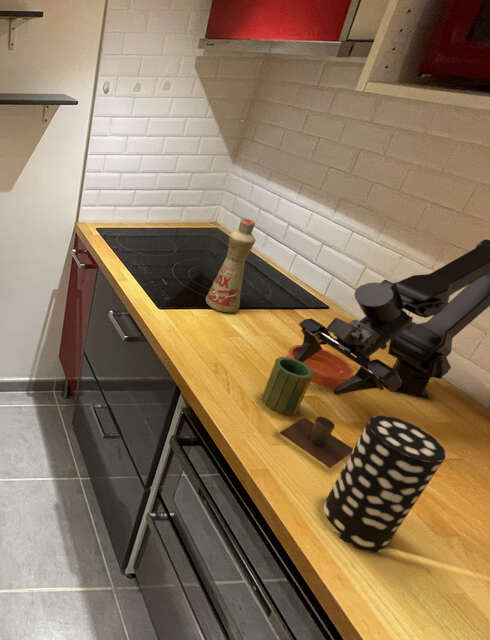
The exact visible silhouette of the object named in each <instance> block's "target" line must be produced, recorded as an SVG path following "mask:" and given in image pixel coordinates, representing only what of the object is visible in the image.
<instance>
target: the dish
mask: <svg viewBox="0 0 490 640" xmlns="http://www.w3.org/2000/svg"><path fill="white" fill-rule="evenodd" d="M301 347H302V344H296V345H293V346H292V347H290V348H289V351H288V353H287V356H286V357H289V358H293V359H295V358H296V356H297V354H298V352H299V350H300V349H301ZM302 363H304V364H306V365H307V366H308V367H309V368H310V369H311V370H312V371H313V377H312V380H311V382H310V383H313V384H316V385H318V386H322V387H326V388H330V389H331V388H332V389H336V388H337V387H339V386H340V385H341V384H343V383H344V382H346V381H347V380H349V379H350V378H351V377H353V376H354V375H355V374H354V373H355V370H354V369H353V367H352V366H351V364H350V363H349V362H348V361H347V360H345V359H344V358H342V357H341V356H339V355H338V354H336V353H334V352H331V351H330V350H327V349H325V348H322V349H321V350H320V351H318V352H317V353H315V354H314V355H312V356H311V357H310V358H308V359H307V360H305V361H304V362H302Z"/></svg>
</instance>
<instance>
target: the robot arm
mask: <svg viewBox="0 0 490 640" xmlns="http://www.w3.org/2000/svg"><path fill="white" fill-rule="evenodd" d="M460 290H461V291H460ZM458 291H460V292H459V293H458V294H456V292H458ZM454 294H456V296H454V297H453V298H452V299H451V300H450V296H452V295H454ZM354 299H355V301H356V302H357V304H358V306H359V308H360V309H361V311H362V313H363V314H364V316H363V318H361V319H360V320H358V319H353V320H352V321H351V322H347V321H345V320H342V319H341V318H338V317H334V318H333V319H332V321H331V322H330V323H329V325H328V326H327V327H326V326H325V325H323V324H321V323H319V322H318V321H316V320H315V319H314V318H312V317H311V318H305V319H303V320H302V321H301V322H299V323H298V326H299V327H300V328H301V333H302V334H303V342H302V344H301V345H302V347H301V349H300V350H299V352H298V354H297V356H296V358H295V359H296V360H298V361H301V362H304V361H305V360H307V359H308V358H310V357H311V356H312V355H314V354H315V353H317V352H318V351H320V350H321V349H323V347H322V345H328V346H329V347H331V348H333V349H334V350H335V351H337V352H338V353H340V354H342V355H344V356H345V357H347V358H348V359H350V360H351V361H353V362H355V363H356V364H357V365H359V366H360V367H359V369H358V371H356V373H355V374H353V377H351V378H350V379H349V380H347V381H346V382H344V383H343V384H341V385H340V386H339V387H337V388H334V390H333V391H332V393H333V395H334V396H340V395H344V394H348V393H352V392H357V391H358V392H359V391H363V390H372V389H373V390H374V389H379V391H384V390H385V389H386V390H387V391H389V392H390V393H395V392H397V393H398V392H399V393H403V394H409V395H412V396H413V395H414V396H417V397H418V396H419V397H423V398H430V397H431V396H430V394H429V393H428V392H427V391H426V387H427V386H428V385H429V382H430V379H431V378H434V379H438V380H441V379H443V377H444V376H446V374H448V373H449V371H450V370H451V369H452V366H451V364H450V362H449V360H448V358H447V357H448V356H449V355H451V353H452V348H453V339H454V337H456V336H457V335H458V334H459V333H460V332H461V331H463V330H464V329H465V328H466V327H467V326H468V325H470V324H471V323H472V322H473V321H474V320H475V319H477V318H478V317H479V316H480V315H481V314H482V313H483V312H484V311H486V310H487V309H488V308H489V307H490V239H486V238H485V239H483V240H481V241H480V242H479V243H478V244H476V246H475V248H473V249H471V250H469V251H468V252H466V253H463V255H461V256H459V257H457V258H455V259H454V260H451V261H450V262H448V263H446V264H445V265H443V266H441V267H439V268H438V269H436V270H434V271H432V272H430V273H427V274H414V275H411V276H409V277H406V278H404V279H401V280H399V281H397V282H393V281H390V280H387V279H384V280H382V281H381V282H368V283H364V284H361V285H359V286H358V287H357V288H356V289H355V290H354ZM406 311H408V312H410V313H412V314H414V315H415V316H417V317H420V318H424V319H427V318H430V319H428V320H427V321H426V322H420V323H416V322H414V321H413V320H414V319H413V316H410V315H409V314H408V313H407V312H406ZM330 333H332V334H333V336H332V334H330ZM335 337H336V338H335ZM387 343H389V345H387ZM387 347H388V350H387V351H388V352H387V354H388V355H390V356H392V357H394V358H395V359H396V360H395V362H394V364H393V366H392V367H391V366H389V365H388V364H387V363H385V362H383V361H381V360H380V359H378V358H375V359H371V358H370V357H371V356H372V355H373V354H374V353H376V352H377V351H378V350H379V349H381V350H385V349H386V348H387Z"/></svg>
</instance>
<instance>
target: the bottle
mask: <svg viewBox="0 0 490 640" xmlns="http://www.w3.org/2000/svg"><path fill="white" fill-rule="evenodd" d="M255 226H256V222H255V221H254V220H252V219H250V218H242V219H241V220H240V223H239V226H238V229H237V230H236V231H233V232H232V233H230V234H229V239H228V246H227V253H226V257H225V259H224V261H223V263H222V265H221V266H220V269H219V271H218V273H217V275H216V277H215V279H214V281H213V282H212V284H211V287H210V288H209V290H208V293H207V294H206V297H205V302H206V304H207V305H208V306H209V307H210V308H212V309H213V310H216V311H217V312H221V313H222V312H223V313H226V314H228V313H229V314H230V313H233V314H234V313H235V312H237V311H238V310H239V308H240V304H241V293H242V286H243V278H244V272H245V265H246V264H245V263H246V261H247V258H248V256H249V255H250V252H251V250H252V248H253V246H254V245H255V244H256V241H257V240H256V238H255V236H254V235H253V233H252V232H253V231H254V228H255Z"/></svg>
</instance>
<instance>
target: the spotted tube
mask: <svg viewBox="0 0 490 640" xmlns="http://www.w3.org/2000/svg"><path fill="white" fill-rule="evenodd" d="M446 457H447V453H446V450H445V448H444V447H443V445H442V444H441V443H440V442H439V441H438V440H437V439H436V438H435V437H434V436H432V435H431V434H430V433H428V432H427V431H425V430H424V429H422V428H420V427H419V426H417V425H415V424H413V423H411V422H409V421H406V420H404V419H401V418H397V417H394V416H389V415H374V416H372V417H370V418H369V420H368V422H367V423H366V424H365V427H363V430H362V432H361V434H360V436H359V438H358V439H357V441H356V443H355V445H354V447H353V451H352V453H350V454H349V455H348V458H347V460H346V462H345V463H344V466H343V468H342V469H341V471H340V473H339V475H338V477H337V479H336V480H335V482H334V484H333V486H332V488H331V490H330V492H329V494H328V495H327V497H326V499H325V501H324V503H323V513H324V515H325V517H326V519H327V520H328V521H329V523H330V525H331V526H333V528H334V529H335V530H336V531H333V533H334V534H335V535H336V536H337V537H339V538H340V540H342V541H344V542H345V543H346V544H348V545H350V546H352V547H354V548H356V549H358V550H361V551H364V552H369V553H382V552H383V551H385V549H386V548H387V546H388V545H389V543H390V541H391V540H392V539H393V538H394V536H395V534H396V533H397V531H398V530H399V528H400V527H401V525H402V524H403V522H404V521H405V519H406V518H407V516H408V515H409V513H410V512H411V510H412V509H413V507H414V506H415V504H416V503H417V501H418V499H419V498H420V497H421V495H422V494H423V493H424V490H425V489H426V487H427V486H428V484H429V483H430V482H431V480H432V479H433V477H434V475H435V474H436V472H437V471H438V470H439V468H440V467H441V465H442V464H443V462H444V460H445V459H446ZM337 531H338V532H337Z"/></svg>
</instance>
